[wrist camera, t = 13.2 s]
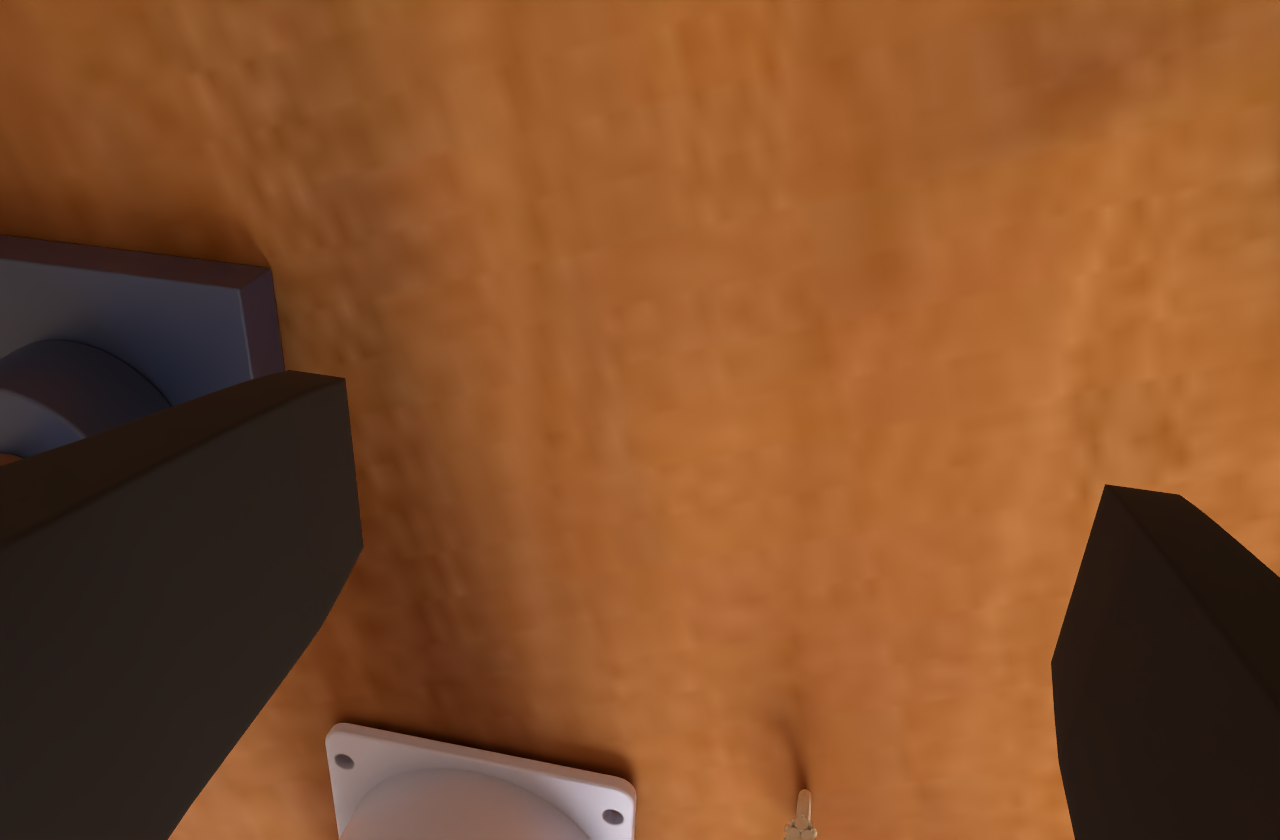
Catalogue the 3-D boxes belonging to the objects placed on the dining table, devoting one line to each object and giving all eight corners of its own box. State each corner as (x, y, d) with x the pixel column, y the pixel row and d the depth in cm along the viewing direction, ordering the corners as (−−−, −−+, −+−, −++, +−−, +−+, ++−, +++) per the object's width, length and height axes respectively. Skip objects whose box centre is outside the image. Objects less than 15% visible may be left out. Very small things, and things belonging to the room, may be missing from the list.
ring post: (315, 587, 25) (148, 798, 19) (19, 534, 26) (-218, 717, 20) (271, 266, 21) (45, 415, 15) (-75, 224, 22) (-399, 347, 16)
